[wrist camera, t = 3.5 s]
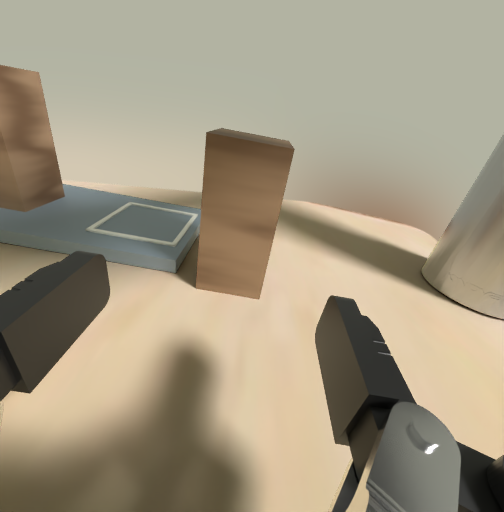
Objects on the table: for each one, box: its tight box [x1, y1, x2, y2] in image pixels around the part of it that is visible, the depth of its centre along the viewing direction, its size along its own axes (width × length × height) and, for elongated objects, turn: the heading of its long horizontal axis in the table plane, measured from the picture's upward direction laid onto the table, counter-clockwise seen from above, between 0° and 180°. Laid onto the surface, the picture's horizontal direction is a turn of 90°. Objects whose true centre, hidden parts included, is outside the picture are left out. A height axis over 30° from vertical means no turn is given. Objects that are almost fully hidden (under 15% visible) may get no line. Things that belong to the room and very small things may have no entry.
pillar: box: [196, 128, 294, 299], centre depth 19 cm, size 5×5×11 cm
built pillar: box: [0, 65, 65, 212], centre depth 22 cm, size 5×5×11 cm
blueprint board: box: [0, 184, 201, 273], centre depth 25 cm, size 12×22×1 cm, turn 86°
